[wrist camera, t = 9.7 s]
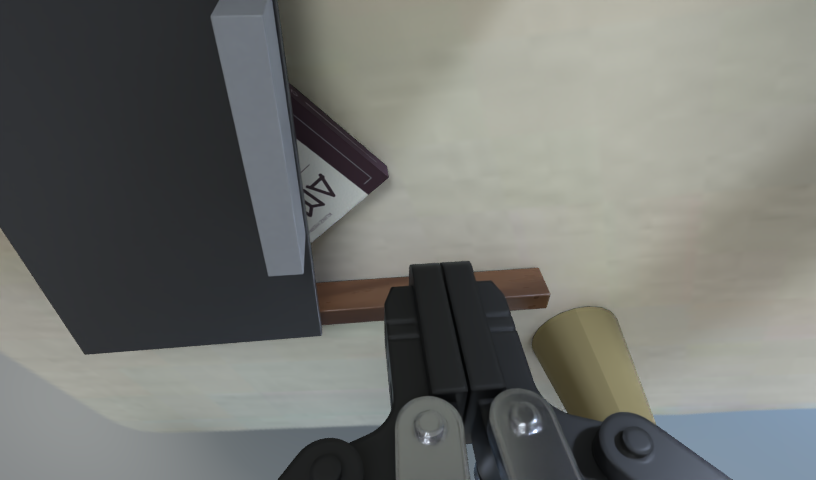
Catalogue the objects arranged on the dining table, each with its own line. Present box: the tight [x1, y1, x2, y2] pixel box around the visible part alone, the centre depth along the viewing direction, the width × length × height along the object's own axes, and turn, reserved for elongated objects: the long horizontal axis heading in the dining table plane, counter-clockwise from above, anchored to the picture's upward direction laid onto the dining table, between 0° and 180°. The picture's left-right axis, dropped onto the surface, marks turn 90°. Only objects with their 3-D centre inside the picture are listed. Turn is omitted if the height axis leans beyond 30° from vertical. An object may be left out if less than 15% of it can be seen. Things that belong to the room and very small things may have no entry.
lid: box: [0, 0, 322, 354], centre depth 17 cm, size 24×12×3 cm, turn 179°
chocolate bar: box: [289, 83, 389, 243], centre depth 20 cm, size 9×1×18 cm
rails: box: [316, 268, 550, 325], centre depth 20 cm, size 24×25×2 cm
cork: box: [532, 307, 656, 425], centre depth 30 cm, size 6×6×11 cm
